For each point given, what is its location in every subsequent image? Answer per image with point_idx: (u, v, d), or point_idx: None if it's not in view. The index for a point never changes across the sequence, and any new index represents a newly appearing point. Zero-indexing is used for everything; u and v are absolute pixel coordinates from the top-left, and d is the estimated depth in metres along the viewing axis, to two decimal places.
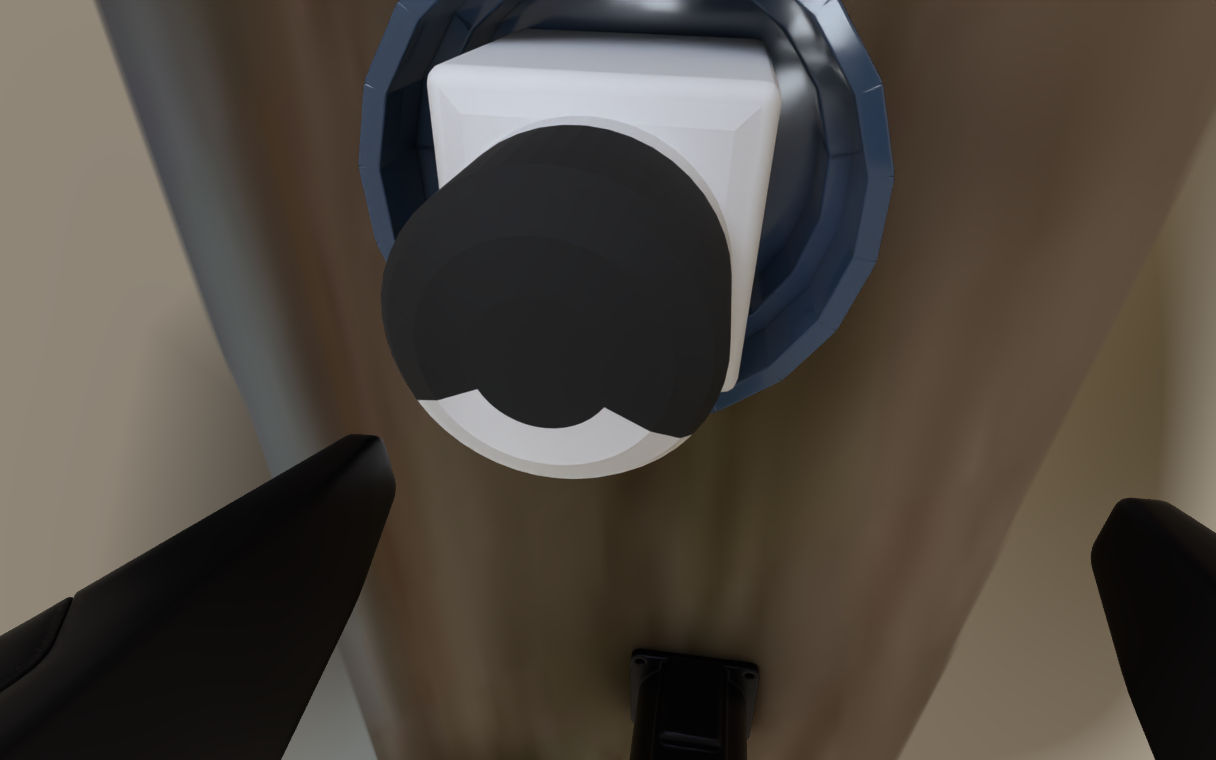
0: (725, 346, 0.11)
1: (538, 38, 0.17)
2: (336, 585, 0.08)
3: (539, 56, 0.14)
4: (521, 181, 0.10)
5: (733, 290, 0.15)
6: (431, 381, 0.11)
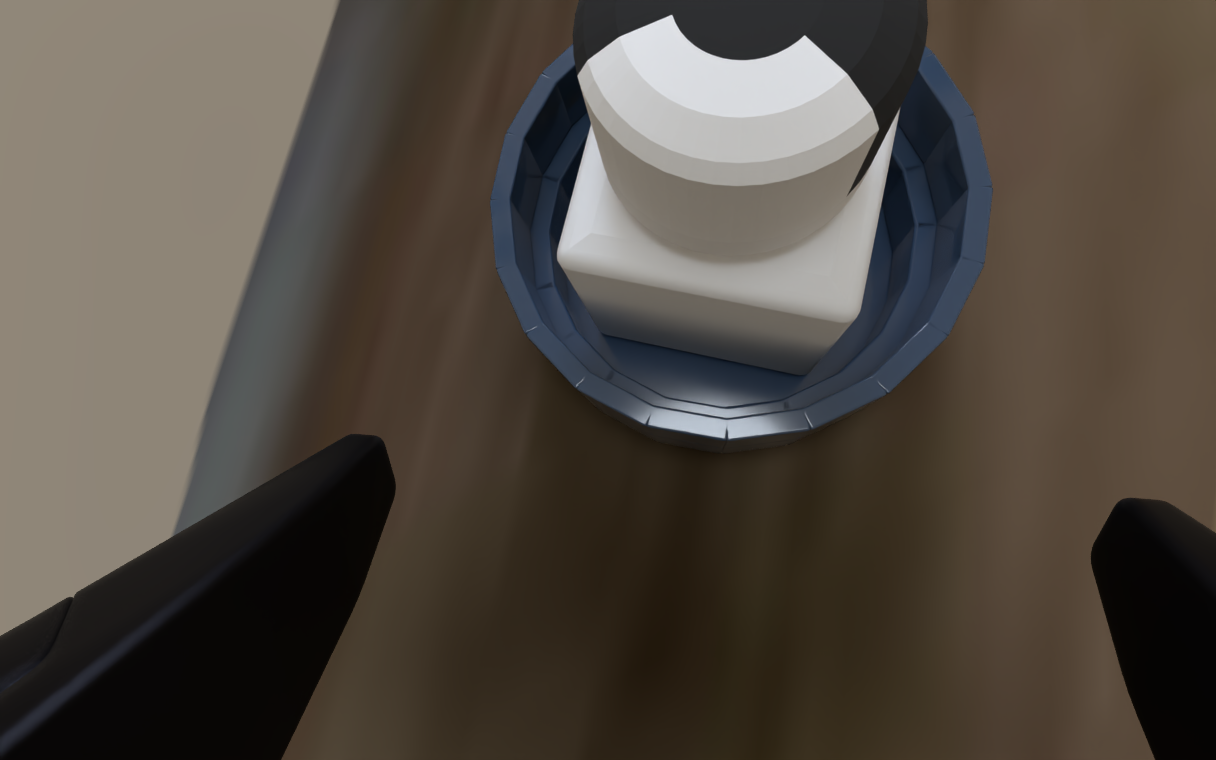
0: (924, 22, 0.11)
1: None
2: (336, 585, 0.08)
3: None
4: None
5: (866, 193, 0.15)
6: (622, 13, 0.11)
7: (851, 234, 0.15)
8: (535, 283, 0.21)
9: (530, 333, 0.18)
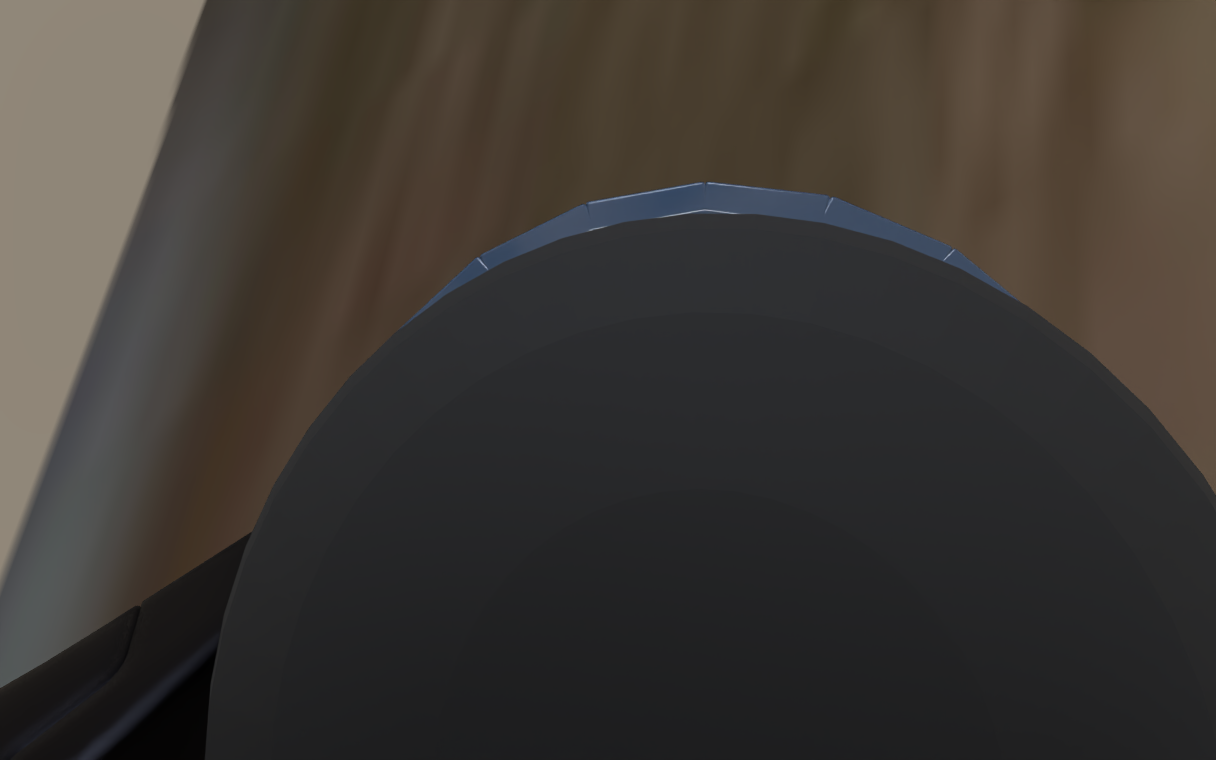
0: None
1: None
2: None
3: None
4: (753, 226, 0.04)
5: None
6: None
7: None
8: None
9: None
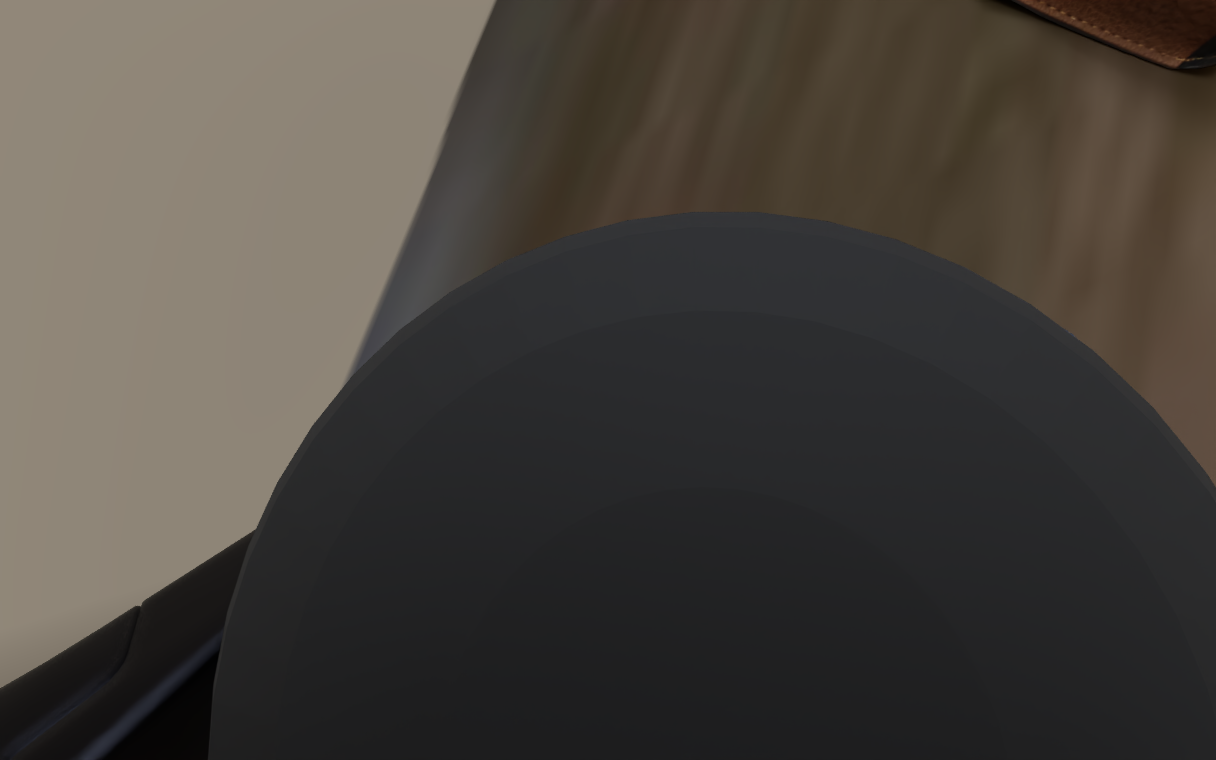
0: None
1: None
2: None
3: None
4: (757, 225, 0.04)
5: None
6: None
7: None
8: None
9: None
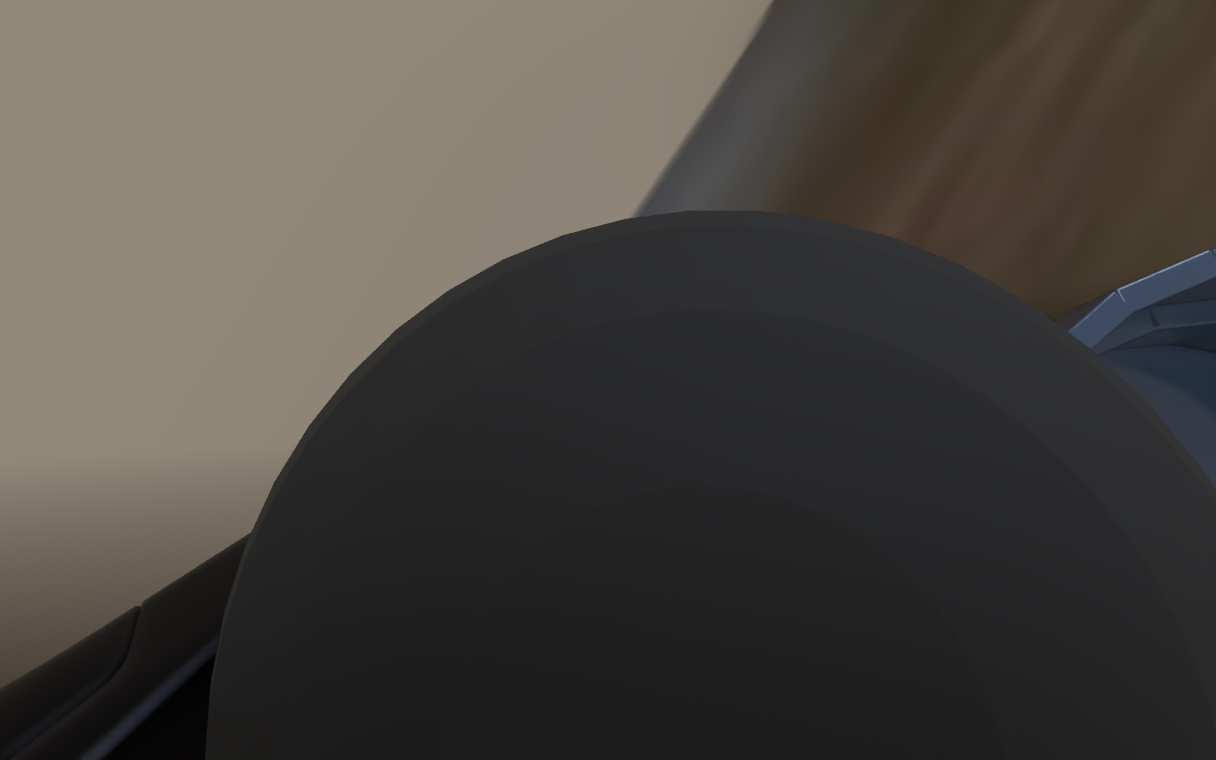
0: None
1: None
2: None
3: None
4: (754, 223, 0.04)
5: None
6: None
7: None
8: None
9: None
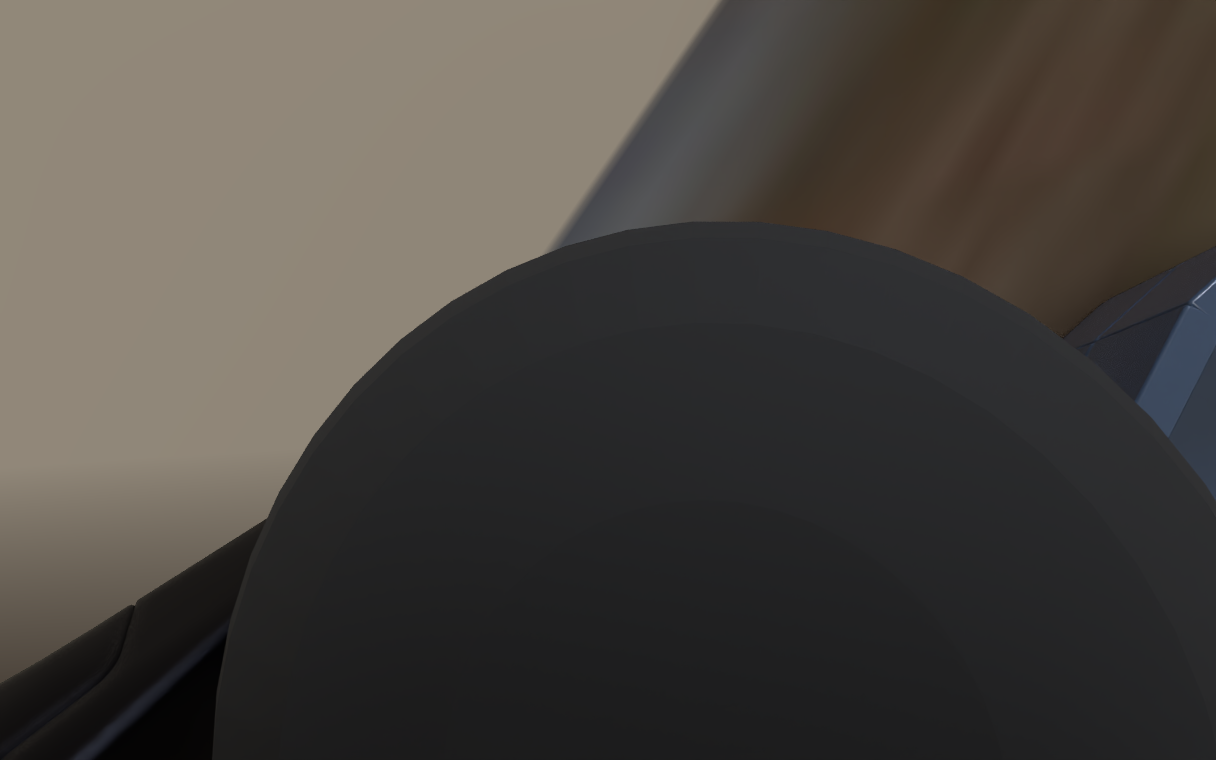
0: None
1: None
2: None
3: None
4: (756, 235, 0.04)
5: None
6: None
7: None
8: None
9: None
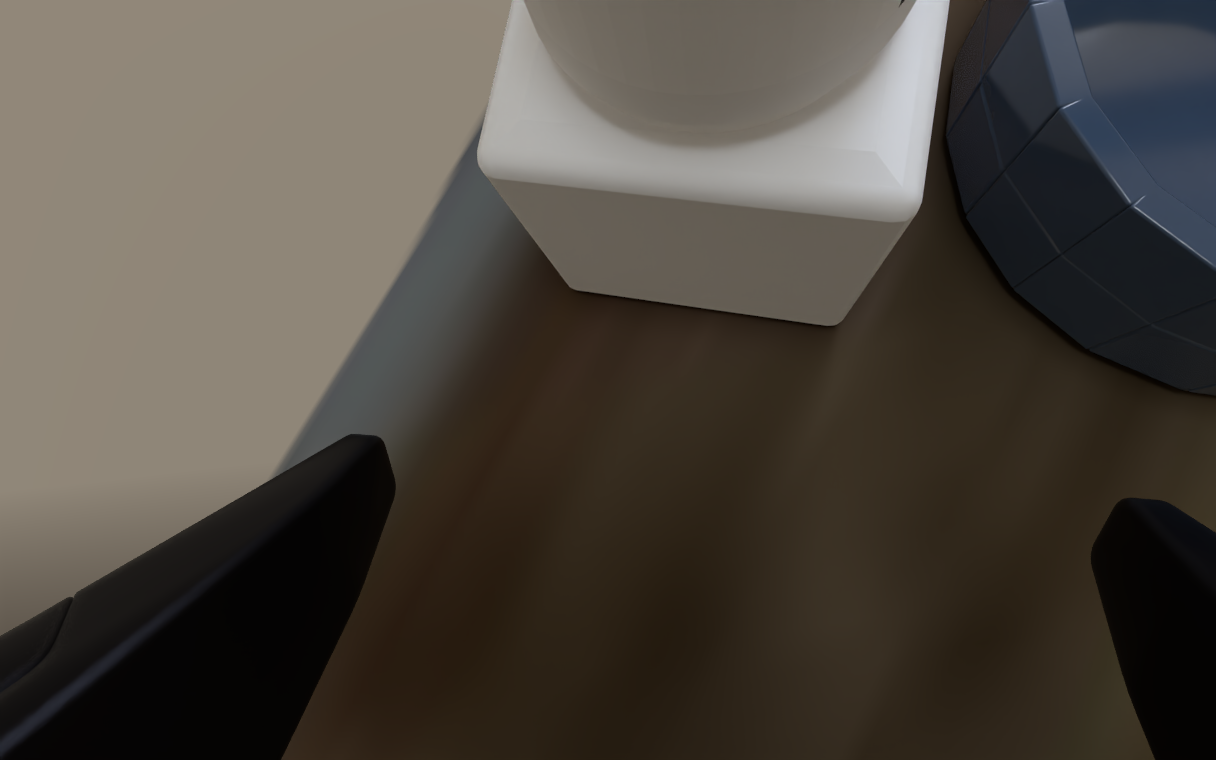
0: None
1: None
2: (336, 585, 0.08)
3: None
4: None
5: (921, 27, 0.10)
6: None
7: (903, 87, 0.10)
8: None
9: (1064, 109, 0.12)
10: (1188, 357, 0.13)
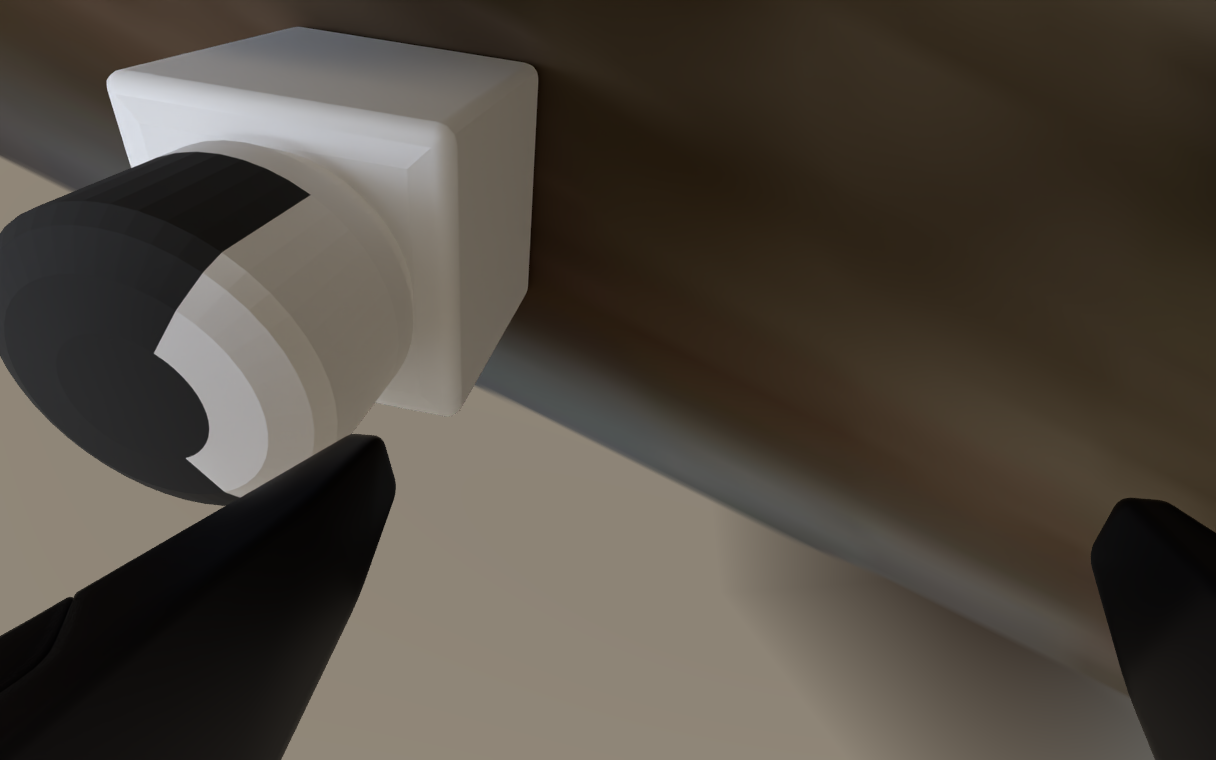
0: (84, 209, 0.10)
1: None
2: (336, 585, 0.08)
3: None
4: None
5: (302, 128, 0.13)
6: (202, 489, 0.12)
7: (352, 145, 0.13)
8: None
9: None
10: None
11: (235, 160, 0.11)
